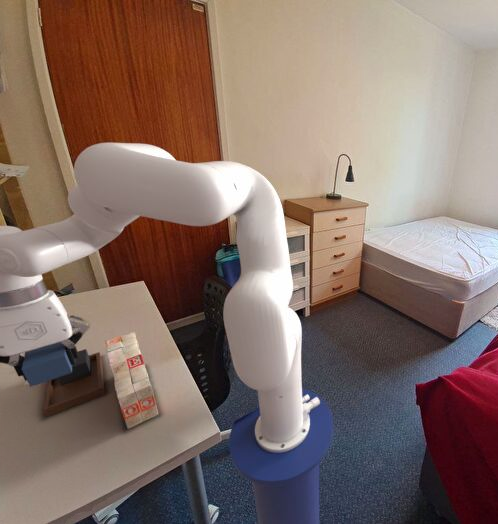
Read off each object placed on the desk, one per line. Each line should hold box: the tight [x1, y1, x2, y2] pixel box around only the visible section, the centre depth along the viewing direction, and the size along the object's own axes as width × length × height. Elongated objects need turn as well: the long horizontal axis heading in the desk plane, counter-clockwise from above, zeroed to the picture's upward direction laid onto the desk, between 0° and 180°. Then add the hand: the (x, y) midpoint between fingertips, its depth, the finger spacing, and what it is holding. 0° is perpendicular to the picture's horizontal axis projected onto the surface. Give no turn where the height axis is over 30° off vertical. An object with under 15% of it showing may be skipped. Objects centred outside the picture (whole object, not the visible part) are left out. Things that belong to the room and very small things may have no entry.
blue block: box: [22, 342, 72, 388], centre depth 58 cm, size 6×7×4 cm
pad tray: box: [43, 352, 106, 417], centre depth 75 cm, size 11×18×2 cm, turn 42°
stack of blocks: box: [105, 331, 159, 430], centre depth 70 cm, size 21×6×12 cm, turn 42°
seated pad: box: [58, 348, 91, 386], centre depth 77 cm, size 6×7×4 cm
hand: (51, 367), depth 59 cm, fingers closed on blue block, 6 cm apart
